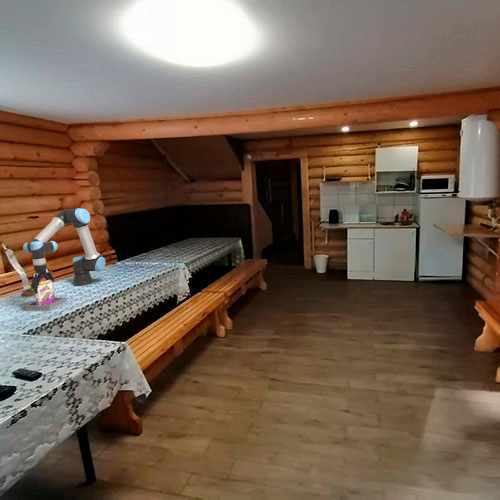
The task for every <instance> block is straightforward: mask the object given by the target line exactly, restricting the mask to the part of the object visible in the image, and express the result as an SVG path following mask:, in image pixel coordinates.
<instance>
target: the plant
mask: <svg viewBox="0 0 500 500" xmlns="http://www.w3.org/2000/svg"><path fill="white" fill-rule="evenodd" d="M42 281H43V280H40V282H42ZM20 296H21V297H25V298H27V297H28V298H30V297H35V293H34V289H31V285H28V288H27V289H24V290H22V292H21V293H20Z"/></svg>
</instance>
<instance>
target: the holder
mask: <svg viewBox="0 0 500 500" xmlns="http://www.w3.org/2000/svg"><path fill="white" fill-rule="evenodd" d="M67 302H68V301H67V297H66V296H64V297H62V296H60V297H58V296H57V297H56V296H55V302H54V303H52V304H50V305H36V300H35V301H33V302H30V303H28V304H26V305H24V310H25V312H45V311H46V312H50V311H52V310H55V309H56V308H58V307H60V306H62V305H64V304H66V303H67Z"/></svg>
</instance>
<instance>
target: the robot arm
mask: <svg viewBox="0 0 500 500" xmlns="http://www.w3.org/2000/svg"><path fill="white" fill-rule="evenodd" d="M90 221H91V213H90V212H89V211H88V210H87V209H85V208H79V207H77V208H65V209H63V210H61V211H59V212H58V213H57V214H55V215H54V216H53V217H52V219H51V221H50V223H48V224H47V225H46V226H45V227H44V228H43V229H42V230H41V231H40V232H39V233H38V234H37V235H36V236H35V237H34V238H33V239H32V240H31V241H29V242H24V244H23V246H22V250H23V252H25V253H26V254H31V258H32V264H33V271H34V272H35V273H32V275H31V276H32V280H31V285H30V286H31V289H34V292H35V296H36V298H40V293H39V288H38V286H39V283H40V281H42V279H45V281H47V280H52V282H53V283H54V282H55V278H54V276H53V275H52V273H51V271H50V268H48V266H47V259H46V256H45V255H47V254H50V253H54V252H56V251H57V250H58V243H57V242H56V241H54V240H51V241H49V240H50V239H51V238H52V237H53V236H54V235H55V234H56V233H57V232H58V231H59V230H60V229H61V228H64V227H65V226H67V225H72V226H73V228H74V229H76V231H77V234H78V236H79V239H80V240H79V241H80V243H81V245H82V248H83V250H84V253H85V254H83V255H78V256H75V257H73V258H72V260H71V261H72V267H73V275H74V277H73V282H72V283H73V284H72V285H74V286H76V287H77V286H78V287H79V286H86V285H90V284H93V283H94V280H93V279H94V278H93V277H92V275H91V273H90V272H100V271H101V272H102V271H103V270H104V269H105V266H106V259H105V257H103V256H101V254H100V252H99V251H97V249H96V246H95V242H94V239H93V236H92V234H91V231H90V228H89V225H90ZM35 296H34V297H35Z"/></svg>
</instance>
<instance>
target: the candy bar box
mask: <svg viewBox="0 0 500 500" xmlns="http://www.w3.org/2000/svg"><path fill="white" fill-rule="evenodd" d="M41 281H42V282H40V283H39V286H38V288H39V293H40V298H36V296H34V299H35V301H36V305H50V304H52V303H54V302H55V297H56V296H55V291H54V282H52V280H41ZM34 293H35V292H34Z"/></svg>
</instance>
